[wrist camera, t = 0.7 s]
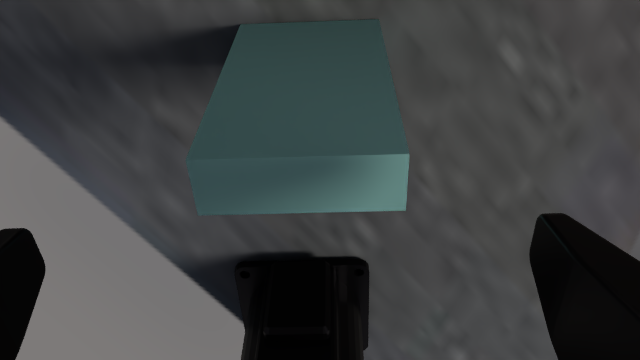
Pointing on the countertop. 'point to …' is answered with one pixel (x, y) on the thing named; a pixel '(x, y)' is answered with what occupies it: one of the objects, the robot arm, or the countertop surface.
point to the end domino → (302, 124)
